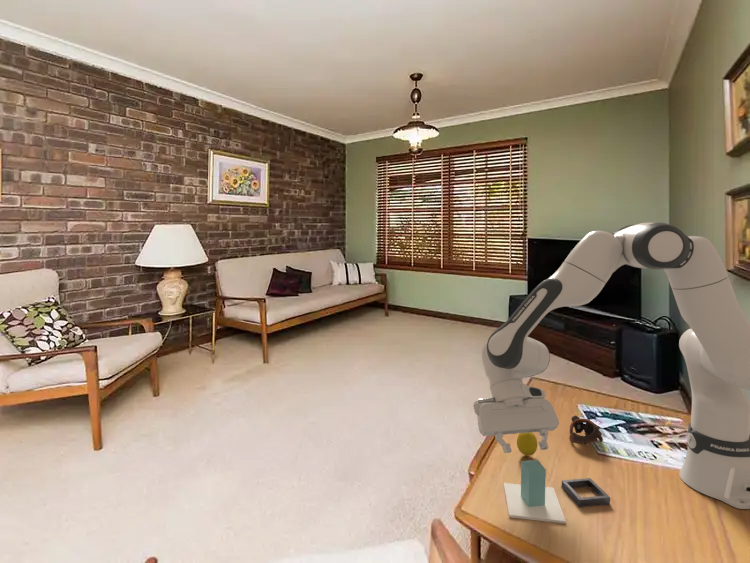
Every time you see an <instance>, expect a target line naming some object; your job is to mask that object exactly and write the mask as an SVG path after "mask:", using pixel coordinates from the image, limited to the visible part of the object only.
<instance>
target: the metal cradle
mask: <svg viewBox="0 0 750 563" xmlns="http://www.w3.org/2000/svg"><path fill="white" fill-rule="evenodd" d="M561 488H562V489H563V491H564V492H565V493H566V495H568V497H570V498H571V500H572V501H573V502H574V503H575V504H576V505H577V506H578V508H585V507H596V506H608V505H611V497H610V496H609V495H608V494H607V493H606V492H605V490H603V489H602V488H601V487H600V486H599V485H598V484H597V483H596V482H595V481H594V480H593V479H591V477H587V478H575V479H565V480H564V479H563V480H561ZM579 488H590V490H591V491H592V492H593V493H594V494H596V496H594V495H593V496H584V497H581V496H580V495H579V494H578V493H577V492H576V490H574V489H579Z"/></svg>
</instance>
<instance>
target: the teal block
mask: <svg viewBox="0 0 750 563" xmlns="http://www.w3.org/2000/svg"><path fill="white" fill-rule="evenodd" d="M520 471H521V472H520V484H521V497H522V498H523V500H524V501H525V502H526V504H527V505H528V507H532V506H543V505H545V487H546V482H547V481H546V476H547V475H546V474H547V469H546V468H545V467H544V466H543V464H542V463H541V462H540V461H539V460H538V459H533V460H532V459H531V460H522V461H521V464H520Z"/></svg>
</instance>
